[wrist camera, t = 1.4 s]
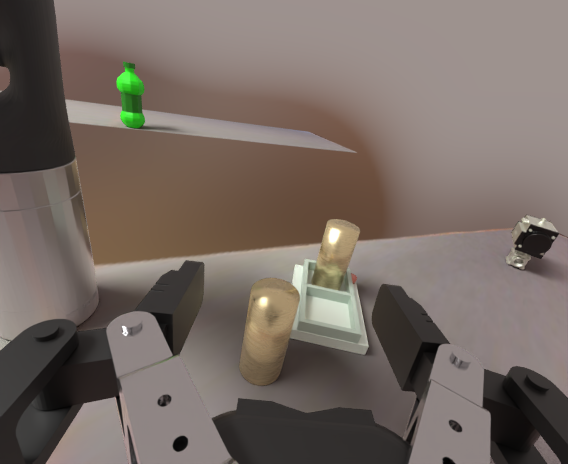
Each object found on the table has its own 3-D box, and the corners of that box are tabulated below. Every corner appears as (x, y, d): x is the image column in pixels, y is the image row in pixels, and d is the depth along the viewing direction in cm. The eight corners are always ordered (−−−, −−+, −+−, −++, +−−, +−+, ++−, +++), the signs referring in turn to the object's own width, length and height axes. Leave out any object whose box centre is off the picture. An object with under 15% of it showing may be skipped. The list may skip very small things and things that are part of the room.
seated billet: (310, 290, 40) (327, 230, 35) (311, 273, 44) (326, 216, 39) (341, 297, 40) (362, 237, 35) (339, 279, 44) (357, 223, 39)
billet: (234, 380, 27) (245, 304, 23) (245, 344, 31) (256, 273, 27) (278, 390, 27) (298, 316, 23) (283, 352, 31) (301, 283, 27)
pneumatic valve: (522, 259, 68) (552, 215, 62) (528, 279, 59) (564, 230, 53) (497, 250, 70) (523, 207, 65) (499, 267, 61) (530, 219, 56)
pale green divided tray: (283, 336, 33) (288, 318, 32) (293, 271, 46) (297, 256, 44) (364, 355, 33) (372, 337, 32) (352, 284, 46) (357, 269, 44)
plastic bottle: (116, 123, 123) (110, 59, 112) (141, 125, 130) (138, 64, 119) (124, 128, 117) (118, 61, 106) (150, 129, 124) (147, 66, 113)
